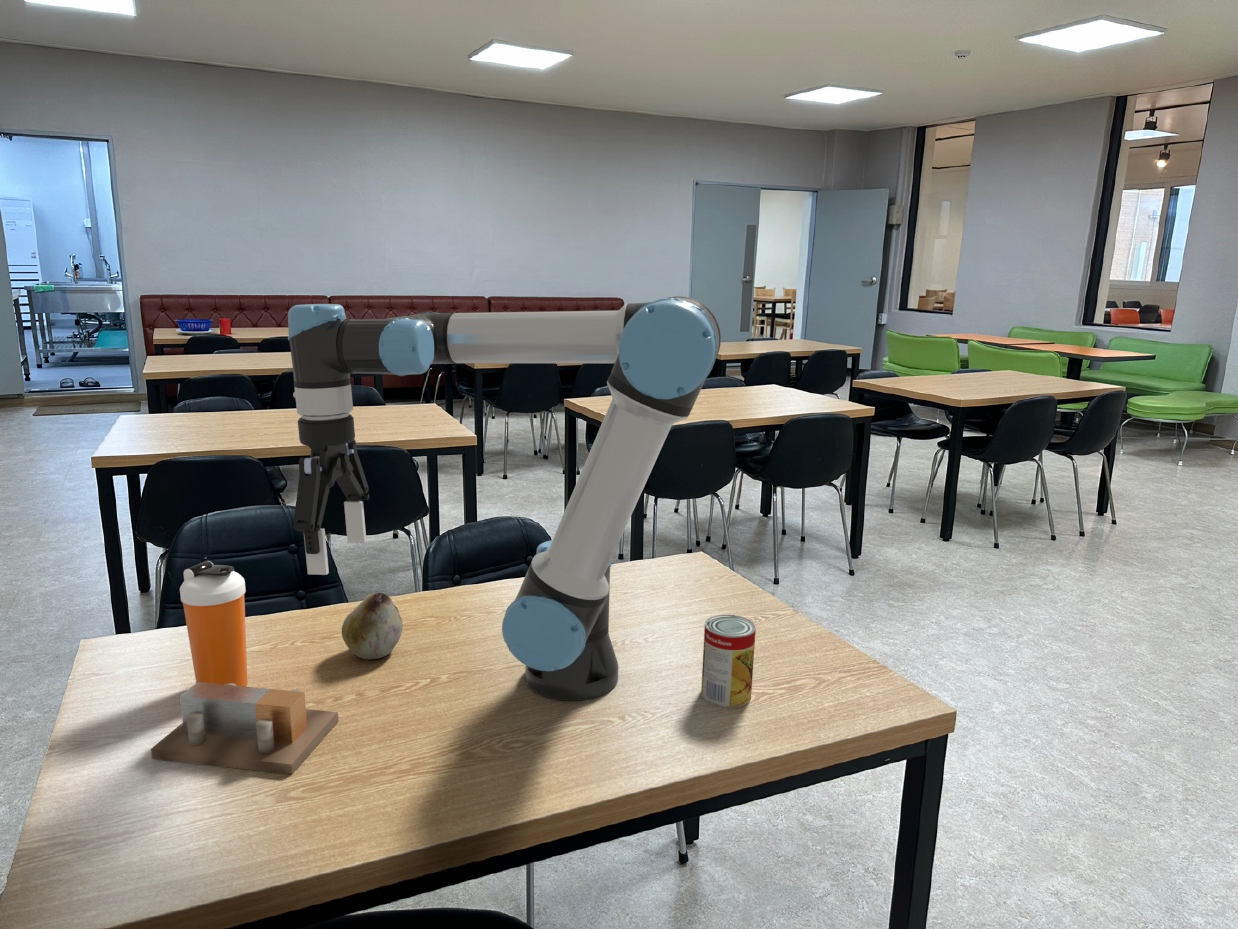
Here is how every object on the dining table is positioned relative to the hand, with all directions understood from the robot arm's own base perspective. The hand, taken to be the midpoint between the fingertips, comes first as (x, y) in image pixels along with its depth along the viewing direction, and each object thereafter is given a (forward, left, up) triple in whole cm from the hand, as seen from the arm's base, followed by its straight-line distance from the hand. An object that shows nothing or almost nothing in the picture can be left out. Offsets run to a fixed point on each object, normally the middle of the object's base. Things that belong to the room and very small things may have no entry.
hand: (338, 557), depth 122 cm
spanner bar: (+8, +13, -21) cm, 27 cm away
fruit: (+2, -14, -23) cm, 27 cm away
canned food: (-58, -11, -23) cm, 63 cm away
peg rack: (+8, +13, -23) cm, 28 cm away
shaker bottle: (+20, +1, -23) cm, 31 cm away
